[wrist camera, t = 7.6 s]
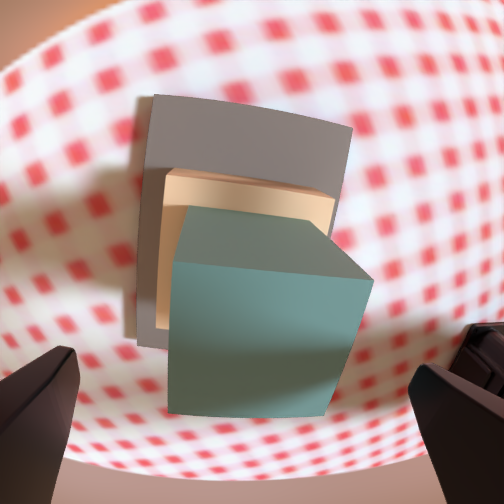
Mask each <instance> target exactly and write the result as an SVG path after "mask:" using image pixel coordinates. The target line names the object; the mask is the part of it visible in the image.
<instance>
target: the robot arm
mask: <svg viewBox="0 0 504 504" xmlns="http://www.w3.org/2000/svg"><path fill="white" fill-rule="evenodd" d="M79 384H80V372H79V367H78V361H77V356H76V352H75V350H74V349H73V348H70V347H65V346H57V347H55V348H53V349H52V350H50V351H48V352H47V353H45V354H43V355H42V356H40V357H38V358H37V359H35V360H33V361H32V362H30V363H29V364H27V365H25V366H24V367H22V368H20V369H19V370H17V371H16V372H14V373H12V374H11V375H9V376H8V377H6V378H4V379H3V380H1V381H0V504H51V500H52V496H53V491H54V488H55V484H56V480H57V476H58V473H59V469H60V465H61V462H62V458H63V455H64V451H65V448H66V445H67V441H68V437H69V433H70V428H71V423H72V418H73V413H74V408H75V403H76V398H77V393H78V389H79ZM408 395H409V398H410V401H411V404H412V407H413V410H414V413H415V417H416V420H417V423H418V427H419V430H420V433H421V436H422V438H423V441H424V444H425V446H426V449H427V451H428V454H429V456H430V459H431V461H432V464H433V467H434V469H435V471H436V474H437V477H438V480H439V483H440V485H441V488H442V491H443V493H444V496H445V499H446V502H447V504H504V323H492V324H475V325H473V326H472V327H471V328H470V330H469V332H468V334H467V337H466V339H465V341H464V343H463V345H462V347H461V349H460V351H459V353H458V355H457V357H456V359H455V361H454V363H453V365H452V367H451V369H450V370H449V371H447V370H445V369H443V368H442V367H440V366H438V365H436V364H434V363H425V364H421V365H420V366H419V367H418V368H417V370H416V372H415V374H414V376H413V378H412V380H411V382H410V384H409V386H408Z"/></svg>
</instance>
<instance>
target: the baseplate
mask: <svg viewBox="0 0 504 504" xmlns="http://www.w3.org/2000/svg"><path fill="white" fill-rule="evenodd" d="M352 131H353V128H351V127H348V126H344V125H340V124H336V123H332V122H328V121H324V120H320V119H316V118H311V117H307V116H302V115H298V114H293V113H288V112H283V111H278V110H273V109H268V108H262V107H256V106H251V105H244V104H238V103H231V102H225V101H217V100H209V99H201V98H192V97H182V96H172V95H159V94H154V99H153V105H152V111H151V117H150V124H149V131H148V138H147V146H146V154H145V163H144V172H143V182H142V192H141V204H140V218H139V233H138V254H137V293H136V319H137V346H143V347H150V348H158V349H167V350H168V343H169V330H168V329H159V328H156V301H157V278H158V260H159V245H160V232H161V220H162V209H163V199H164V190H165V181H166V175H167V174H168V173H169V172H170V171H171V170H172V169H174V168H181V169H190V170H199V171H207V172H215V173H223V174H230V175H237V176H245V177H251V178H258V179H265V180H271V181H278V182H284V183H290V184H296V185H302V186H307V187H313V188H316V189H317V190H319V191H321V192H323V193H325V194H327V195H329V196H330V197H332V198H334V199H335V203H334V208H333V212H332V217H331V221H330V226H329V230H328V235H327V237H328V238H329V239H330V238H331V233H332V229H333V225H334V220H335V216H336V211H337V207H338V202H339V198H340V193H341V188H342V183H343V178H344V173H345V168H346V163H347V158H348V153H349V147H350V142H351V136H352Z"/></svg>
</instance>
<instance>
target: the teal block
mask: <svg viewBox="0 0 504 504" xmlns="http://www.w3.org/2000/svg"><path fill="white" fill-rule="evenodd" d="M373 283H374V280H373V279H372V278H371V277H370V276H369V275H368V274H367V273H366V272H365V271H364V270H363V269H362V268H361V267H360V266H359V265H357V264H356V263H355V262H354V261H353V260H352V259H351V258H350V257H349V256H348V255H347V254H346V253H345V252H344V251H342V250H341V249H340V248H339V247H338V246H337V245H336V244H335V243H334V242H333V241H332V240H330V239H329V238H328V237H327V236H326V235H325V234H324V233H323V232H322V231H321V230H319V229H318V228H317V227H316V226H315V225H314V224H313V223H312V222H310V221H309V220H303V219H296V218H289V217H281V216H274V215H266V214H259V213H251V212H243V211H235V210H227V209H218V208H210V207H201V206H192V205H189V206H188V209H187V213H186V216H185V220H184V223H183V226H182V230H181V233H180V237H179V240H178V244H177V248H176V251H175V255H174V258H173V265H172V279H171V296H170V316H169V343H168V413H170V414H181V415H193V416H208V417H230V418H291V417H313V416H324V414H325V411H326V409H327V407H328V405H329V402H330V400H331V398H332V395H333V393H334V391H335V388H336V386H337V383H338V381H339V378H340V376H341V374H342V371H343V369H344V366H345V363H346V361H347V358H348V356H349V353H350V350H351V348H352V345H353V342H354V340H355V337H356V334H357V331H358V328H359V326H360V323H361V320H362V317H363V314H364V311H365V308H366V305H367V302H368V299H369V296H370V293H371V289H372V286H373Z"/></svg>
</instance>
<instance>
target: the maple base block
mask: <svg viewBox="0 0 504 504" xmlns="http://www.w3.org/2000/svg"><path fill="white" fill-rule="evenodd" d="M334 203H335V199H334V198H332V197H330V196H329V195H327V194H325V193H323V192H321V191H319V190H317V189H316V188H313V187H307V186H302V185H296V184H290V183H284V182H278V181H271V180H265V179H258V178H251V177H245V176H237V175H230V174H223V173H215V172H207V171H199V170H190V169H181V168H174V169H172V170H171V171H170V172H169V173H168V174H167V175H166V181H165V190H164V199H163V209H162V220H161V232H160V245H159V260H158V278H157V301H156V328H159V329H168V330H169V316H170V296H171V279H172V265H173V258H174V255H175V251H176V248H177V244H178V240H179V237H180V233H181V230H182V226H183V223H184V220H185V216H186V213H187V209H188V206H189V205H192V206H201V207H210V208H218V209H227V210H235V211H243V212H251V213H259V214H266V215H274V216H281V217H289V218H296V219H303V220H309V221H310V222H312V223H313V224H314V225H315V226H316V227H317V228H318V229H319V230H321V231H322V232H323V233H324V234H325V235H326V236H327V235H328V230H329V226H330V221H331V217H332V212H333V208H334Z"/></svg>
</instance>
